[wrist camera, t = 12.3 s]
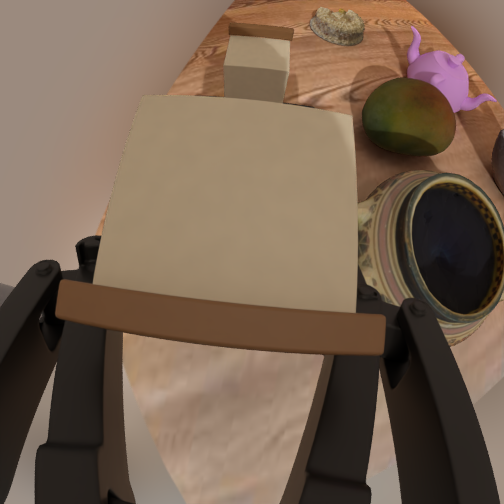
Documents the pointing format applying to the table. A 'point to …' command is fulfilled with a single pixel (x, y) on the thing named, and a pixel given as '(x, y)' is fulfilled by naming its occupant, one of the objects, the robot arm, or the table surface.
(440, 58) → the teapot
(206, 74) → the table surface
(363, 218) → the ceramic bowl
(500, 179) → the planter
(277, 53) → the base
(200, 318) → the cream rectangular block
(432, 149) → the fruit
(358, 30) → the cake
